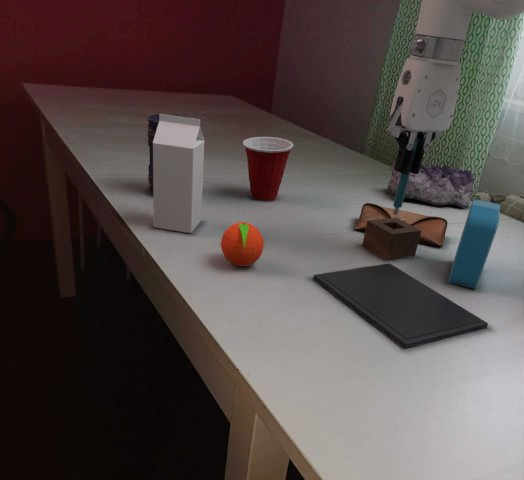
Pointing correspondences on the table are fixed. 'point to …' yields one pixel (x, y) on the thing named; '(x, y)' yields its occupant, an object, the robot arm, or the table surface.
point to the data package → (475, 243)
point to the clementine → (242, 244)
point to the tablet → (400, 304)
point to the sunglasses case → (428, 225)
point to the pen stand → (391, 238)
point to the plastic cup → (266, 165)
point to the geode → (437, 185)
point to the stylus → (403, 185)
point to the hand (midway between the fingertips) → (406, 171)
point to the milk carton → (178, 173)
